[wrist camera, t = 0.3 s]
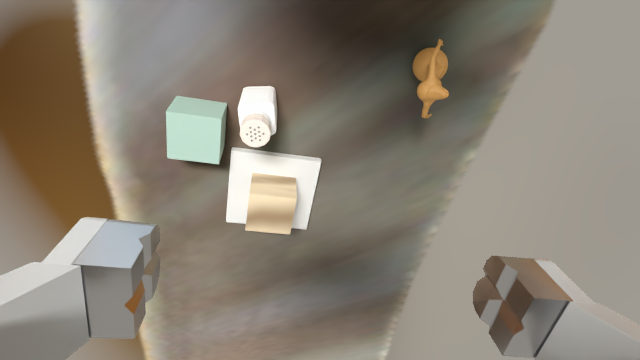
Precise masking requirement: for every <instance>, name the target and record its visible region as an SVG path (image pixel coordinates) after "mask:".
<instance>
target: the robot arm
mask: <svg viewBox="0 0 640 360" xmlns="http://www.w3.org/2000/svg"><path fill="white" fill-rule="evenodd" d="M159 242H160V228H159V226H158V225H157V224H149V223H140V222H131V221H122V220H113V219H111V220H109V219H103V218H91V217H85V218H81V219H80V220H79V221H78V222H77V223H76V225H75V226H74V227H73V228H72V229H71V230H70V232H68V233H67V235H66V236H65V237H64V238H63V239H62V240H61V241H60V242H59V243H58V245H57V246H56V247H55V248H54V249H53V250H52V251H51V252H50V253H49V255H48V256H47V257H46V258H45V259H44V260H43V261H42V262H41V263H36V262H32V263H30V264H27V265H25V266H23V267H20V268H18V269H16V270H13V271H11V272H8V273H6V274H4V275H1V276H0V360H65V359H67V358H68V357H69V356H70V355H72V354H73V353H74V352H75V351H77V350H78V349H79V348H80V347H82V346H83V345H84V344H85V343H87V342H88V341H89V338H125V339H126V338H127V339H135V337H136V335H137V332H138V330H139V328H140V325H141V323H142V321H143V318H144V316H145V314H146V313H145V303H146V302H147V301H149V300H150V299H152V297H153V295H154V292H155V290H156V287H157V282H158V278H159V272H160V256H159V255H158V253H157V252H156V251H155V250H156V248H157V246H158V244H159ZM483 269H484V272H485V276H484V277H483V278H481V279H480V280H479V281H477V283H476V286H475V288H474V291H473V305H474V308H475V311H476V313H477V314H478V316H479V318H480V319H481V320H482V321H484V322H485V323H486V324H488V325H489V326H490V328H489V334H490V336H491V338H492V339H493V341H494V343H495V344H496V346H497V347H498V349H499V351H500V352H501V354H502V355H503V356H515V357H527V358H535V360H640V325H638V324H636V323H634V322H632V321H631V320H629V319H627V318H625V317H624V316H622V315H620V314H618V313H616V312H614V311H613V310H611V309H609V308H607V307H605V306H603V305H602V304H598V303H594V302H593V301H592V300H591V299H590V298H589V297H588V296H587V295H585V293H584V292H583V291H582V290H581V289H580V288H579V287H578V286H577V285H575V283H574V282H573V281H572V280H570V278H569V277H567V276H566V275H565V274H564V273H563V272H562V271H561V270H560V269H559V268H558V267H557V266H556V265H555V264H554V263H553V262H552V261H549V260H547V259H536V258H516V257H503V256H491V257H490V258H489V259H488V260H487V261H486V263H485V265H484V268H483Z"/></svg>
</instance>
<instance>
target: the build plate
mask: <svg viewBox="0 0 640 360" xmlns="http://www.w3.org/2000/svg"><path fill="white" fill-rule="evenodd" d="M320 165H321V158H314V157H306V156H299V155H291V154H283V153H275V152H268V151H260V150H252V149H244V148H237V147H232V150H231V161H230V175H229V188H228V202H227V215H226V222H234V223H244V224H246V220H247V210H248V201H249V193H250V185H251V178H252V173H260V174H268V175H276V176H285V177H293V178H296V190H297V201H296V206H295V211H294V216H293V222H292V227H291V228H296V229H307V224H308V220H309V215H310V211H311V206H312V202H313V197H314V193H315V188H316V184H317V179H318V174H319V170H320Z"/></svg>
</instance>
